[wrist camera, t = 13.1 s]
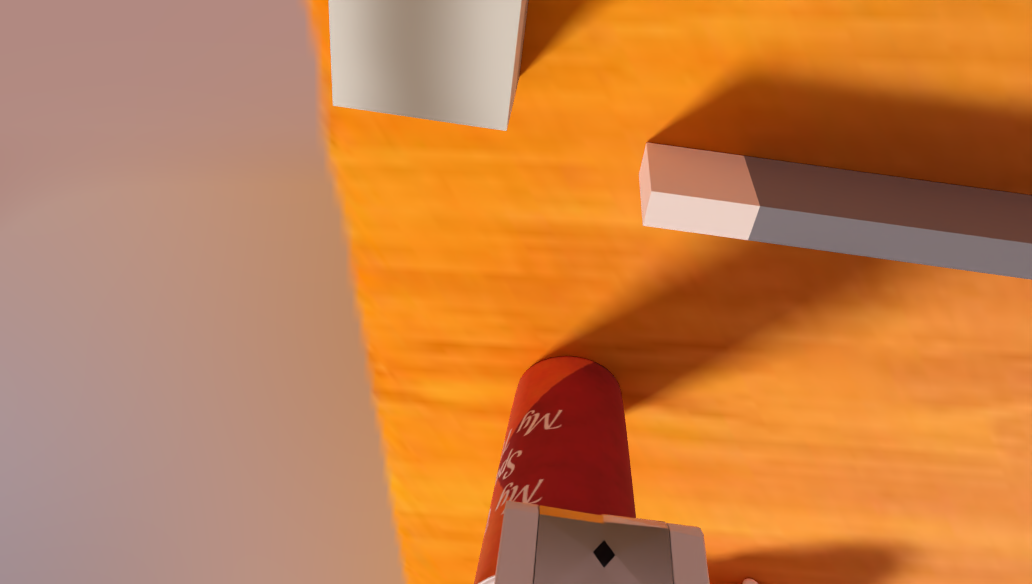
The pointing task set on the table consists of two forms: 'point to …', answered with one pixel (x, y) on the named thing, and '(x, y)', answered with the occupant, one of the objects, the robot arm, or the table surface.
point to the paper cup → (562, 448)
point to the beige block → (428, 58)
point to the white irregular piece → (749, 581)
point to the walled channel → (836, 210)
